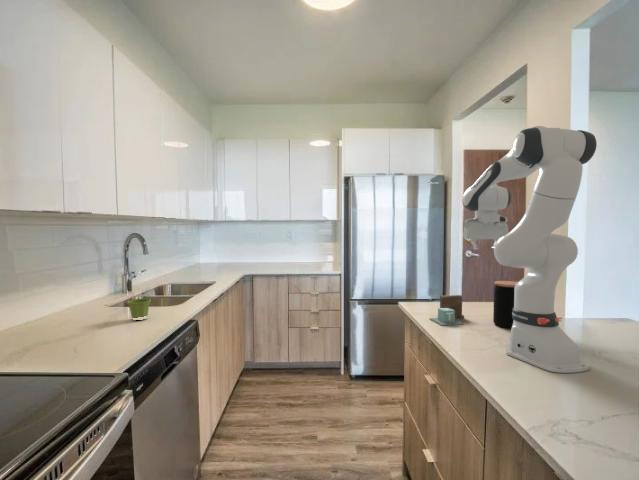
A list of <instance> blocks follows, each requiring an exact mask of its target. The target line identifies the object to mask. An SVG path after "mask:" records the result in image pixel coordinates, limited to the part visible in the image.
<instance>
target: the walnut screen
mask: <svg viewBox="0 0 639 480" xmlns="http://www.w3.org/2000/svg"><path fill="white" fill-rule="evenodd" d="M439 298H440V299H439V308H450V309H453V310H455V319H456V318H459V319H465V315H463V295H462V294H453V295H452V294H450V295H449V294H448V295H440V296H439Z"/></svg>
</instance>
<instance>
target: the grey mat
mask: <svg viewBox="0 0 639 480" xmlns="http://www.w3.org/2000/svg"><path fill="white" fill-rule="evenodd" d="M429 320H430V321H431V322H434V323H436V324H438V325H439V326H441V327H446V326H459V325H461V326H462V325H463V326H464V323H463V322H462V321H459V320H457V319H455V322H447V323H444V322H442V321H440V320H438V317H430V318H429Z"/></svg>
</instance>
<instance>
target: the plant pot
mask: <svg viewBox="0 0 639 480" xmlns="http://www.w3.org/2000/svg"><path fill="white" fill-rule="evenodd" d="M126 302H127V304H128V307H129V311H130V315H131V316H130V317H131V318H132V317H133V318H138V317H144V316H147V315H148V316H149V307H150V302H151V298H135V299H131V300H128V301H126Z"/></svg>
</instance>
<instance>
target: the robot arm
mask: <svg viewBox="0 0 639 480" xmlns="http://www.w3.org/2000/svg"><path fill="white" fill-rule="evenodd" d="M597 145H598V144H597V139H596V137H595V135H594V134H593V133H591V132H589V131H587V130H586V131H585V130H582V129H581V130H580V129H578V130H574V129H568V128H560V127H546V126H543V125H536V126H533V127H530V128H529V127H528V128H525V129H522V130H520V132H519V133H518V134H517V135H516V137H515V139H514V141H513V145H512V148H511V149H510V150H509V152H507V153H506V154H505V155H504V156H502V158H500V159H499V160H497V161H495V162H494V163H492V164H491V165H489V166H488V168H486V169H485V170H484V172H483V173H482V174H481V175H480V176H479V178H477V180H475V182H474V183H473V184H472V185H471V186H469V187H468V188H467V189H466V190H465V191H464V193H463V194H462V199H461V200H462V201H461V202H462V205H463V206H464V208H466V210H468V211H469V212H474V218H467V219H466V220H465V221H464V222H463V223H464V225H463V232H462V234H463V235H462V237H463V239H464V240H470V243H471V245H472V249H473V250H476V251H477V250H479V245H478V244H477V241H478V240H493V241H494V243H493V244H491V249H492V250H493V254H494V255H493V256H494V258H495V260H496V261H497V263H499V264H500V265H501V266H503V267H509V268H513V269H528V271H527V273H526V275H525V276H524V277H523V278H521V279H520V280H519V281H516V282H517V283H516V285H515V288H514V308H513V311H512V318H513V319H514V320H513V325H512V328H511V329H510V332H509V342H508V345H507V348H506V350H505V351H506V352H505V354H506V355H507V356H511V357H513V358H516V359H518V360H520V361H523V362H525V363H528V364H531V365H532V366H535V367H538V368H540V369H543V370H546V371H548V372H552V373H559V374H561V373H563V374H565V373H566V374H567V373H568V374H569V373H570V374H572V373H581V372H585V371H588V370H590V364H589V363H587V362H585V361H583V360H581V359H580V350H579V347H578V345H577V344H576V343H575V341H573V339H572V338H570V337H569V336H568V334H567V333H566V332H565V331H564V330H563V329H562V328H561V327H560V326H559V325H560V324H559V323H560V322H562V319H563V318H562V317H558V316H557V313H556V312H555V298H556V288H557V285H558V282H559V280H560V278H561V276H562V274H563V273H564V271H565V270H566V269H567V268H568V267H569V266H570V265H572V264H573V263H574V262H575V261H576V259H577V258H578V253H579V250H578V249H579V248H578V245H577V244H576V243H577V242H576V241H574V239H573V238H571V237H569V236H566V235H561V234H557V233H553V232H554V231H555V230H557V229H559V228H561V227H562V226H564V225H565V224H566V223H567V222H568V220H569V218H570V215H571V212H572V210H573V208H574V205H575V201H576V199H577V196H578V194H579V191H580V190H579V189H580V187H581V182H582V176H583V169H584V167H583V165H585V164H586V163H588V162H590V160H591V159H592V158H593V157H594V155H595V153H596V150H597V147H598V146H597ZM536 171H538V175H537V177H536V178H537V179H536V181H535V184H534V187H533V189H532V193H531V196H530V200H529V203H528V205H527V207H526V210H525V212H524V214H523V216H522V218H521V219H520V220H519V221H518V223H517V224H516V225H515V226H514V227H513V228H512V229H511V230H510V231H509V228H508V227H509V226H508V224H507V222H508V218H507V217H505V216H503V215H501V214H498V211H502V210H505V209H507V208H508V207H509V206H510V205H511V203H512V193H511V191H510V190H509V189H508V188H507V187H504V186H500V185H498V183H500V182H506V181H511V180H521V179H524V178H525V179H526V178H527V177H529V176H531V175H533V174H534V173H535V172H536Z"/></svg>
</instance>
